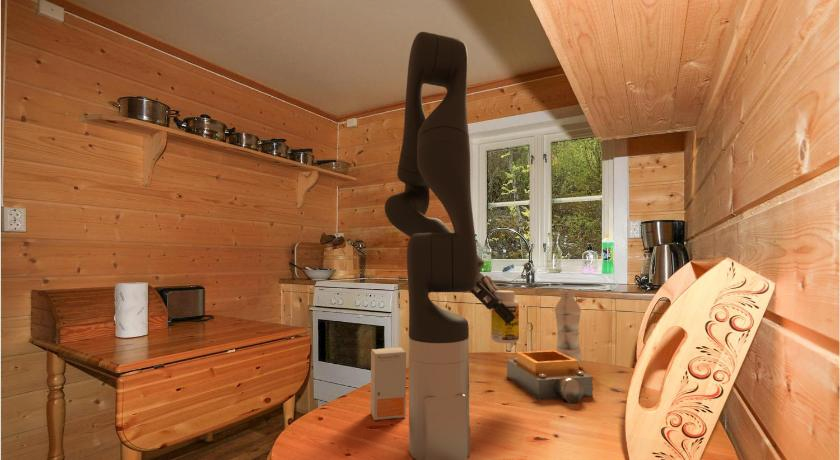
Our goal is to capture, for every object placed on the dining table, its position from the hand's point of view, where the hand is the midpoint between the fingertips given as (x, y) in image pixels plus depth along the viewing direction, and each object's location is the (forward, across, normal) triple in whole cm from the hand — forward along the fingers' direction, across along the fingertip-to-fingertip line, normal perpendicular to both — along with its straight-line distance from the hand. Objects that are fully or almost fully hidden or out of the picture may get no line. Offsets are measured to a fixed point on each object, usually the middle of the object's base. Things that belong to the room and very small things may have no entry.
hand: (513, 318), depth 89 cm
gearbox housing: (+16, +11, +7) cm, 21 cm away
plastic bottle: (+19, +30, +4) cm, 36 cm away
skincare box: (-3, -15, +27) cm, 31 cm away
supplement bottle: (+2, 0, +5) cm, 5 cm away
